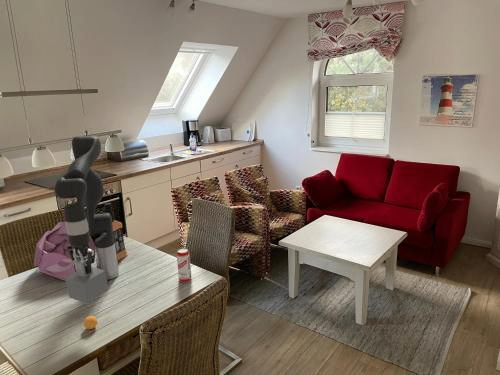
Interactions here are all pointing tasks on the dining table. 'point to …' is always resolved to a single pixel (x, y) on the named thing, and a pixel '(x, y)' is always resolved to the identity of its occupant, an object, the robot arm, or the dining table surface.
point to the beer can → (184, 265)
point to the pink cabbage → (56, 253)
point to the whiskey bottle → (116, 234)
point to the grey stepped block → (86, 283)
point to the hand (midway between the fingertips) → (84, 272)
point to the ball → (90, 322)
